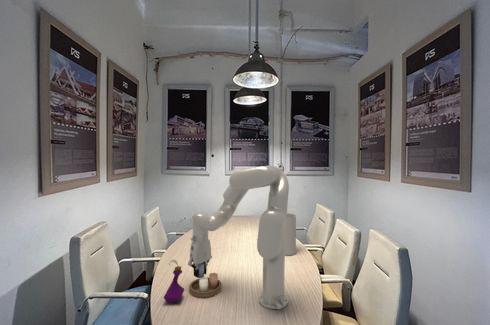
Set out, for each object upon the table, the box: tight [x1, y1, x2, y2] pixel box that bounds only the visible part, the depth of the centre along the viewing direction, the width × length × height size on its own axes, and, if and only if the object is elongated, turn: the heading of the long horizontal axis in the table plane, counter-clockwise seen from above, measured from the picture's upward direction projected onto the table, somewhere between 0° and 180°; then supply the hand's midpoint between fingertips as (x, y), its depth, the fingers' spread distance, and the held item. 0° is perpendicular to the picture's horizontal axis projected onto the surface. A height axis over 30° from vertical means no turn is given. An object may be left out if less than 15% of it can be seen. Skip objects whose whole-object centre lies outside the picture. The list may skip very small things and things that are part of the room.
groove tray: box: [188, 276, 222, 299], centre depth 123 cm, size 15×15×2 cm
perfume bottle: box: [163, 258, 185, 304], centre depth 114 cm, size 8×8×18 cm
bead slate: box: [197, 263, 205, 279], centre depth 126 cm, size 4×4×6 cm
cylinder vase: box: [282, 212, 297, 257], centre depth 171 cm, size 12×12×25 cm
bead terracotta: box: [208, 272, 219, 289], centre depth 124 cm, size 4×4×6 cm
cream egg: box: [198, 276, 208, 292], centre depth 119 cm, size 4×4×6 cm
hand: (200, 274), depth 126 cm, fingers closed on bead slate, 4 cm apart
